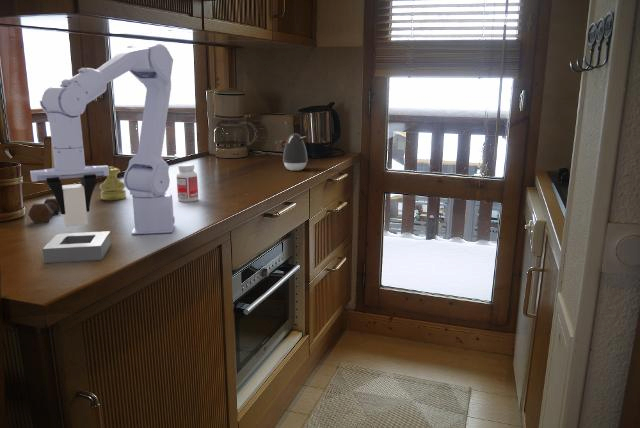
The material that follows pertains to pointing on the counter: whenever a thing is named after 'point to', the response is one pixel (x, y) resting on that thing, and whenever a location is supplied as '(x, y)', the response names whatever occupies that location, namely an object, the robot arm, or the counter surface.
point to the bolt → (44, 211)
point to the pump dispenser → (295, 153)
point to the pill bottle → (187, 183)
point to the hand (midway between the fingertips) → (75, 212)
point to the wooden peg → (74, 205)
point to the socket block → (77, 247)
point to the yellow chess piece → (112, 186)
